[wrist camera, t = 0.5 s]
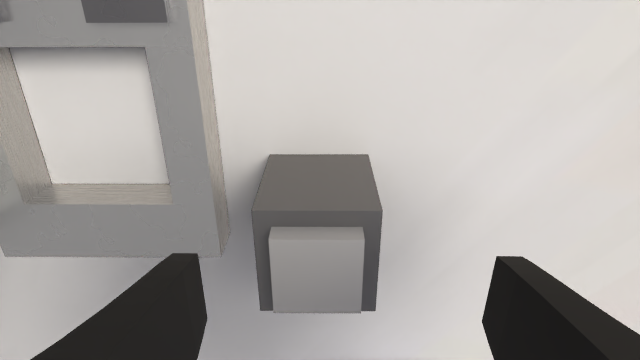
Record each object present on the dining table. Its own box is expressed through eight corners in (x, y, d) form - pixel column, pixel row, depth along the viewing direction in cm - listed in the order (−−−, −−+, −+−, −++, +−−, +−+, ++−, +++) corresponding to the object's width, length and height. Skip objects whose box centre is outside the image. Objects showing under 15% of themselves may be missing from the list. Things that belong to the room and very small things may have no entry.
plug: (363, 236, 21) (377, 326, 15) (275, 236, 21) (257, 326, 15) (368, 154, 19) (385, 223, 13) (270, 154, 19) (247, 222, 13)
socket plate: (230, 233, 20) (218, 263, 18) (33, 232, 21) (-3, 263, 18) (198, -37, 15) (176, -41, 13) (-64, -35, 15) (-131, -39, 13)
